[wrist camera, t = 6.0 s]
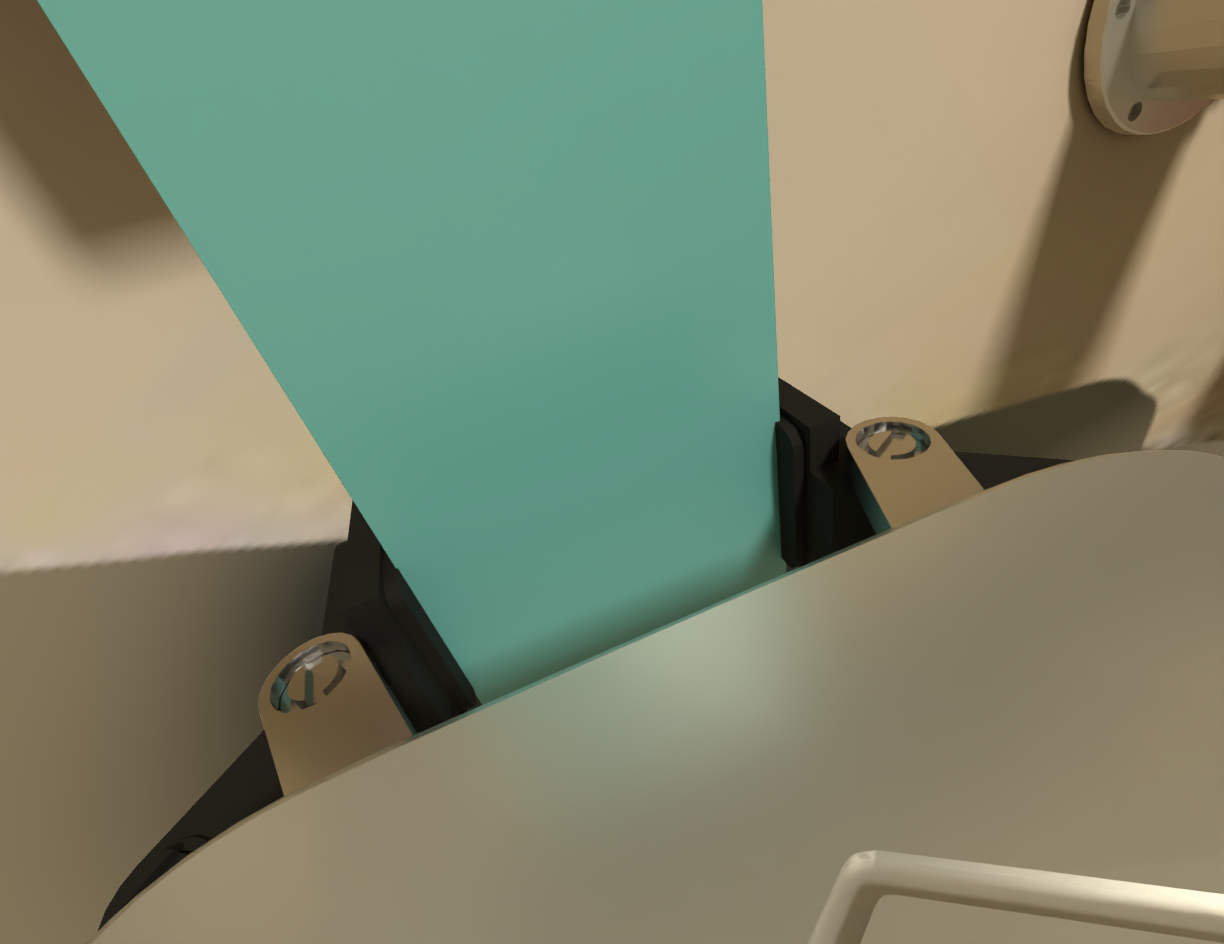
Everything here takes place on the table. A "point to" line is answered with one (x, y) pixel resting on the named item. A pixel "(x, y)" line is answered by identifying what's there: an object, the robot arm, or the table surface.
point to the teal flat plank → (490, 283)
